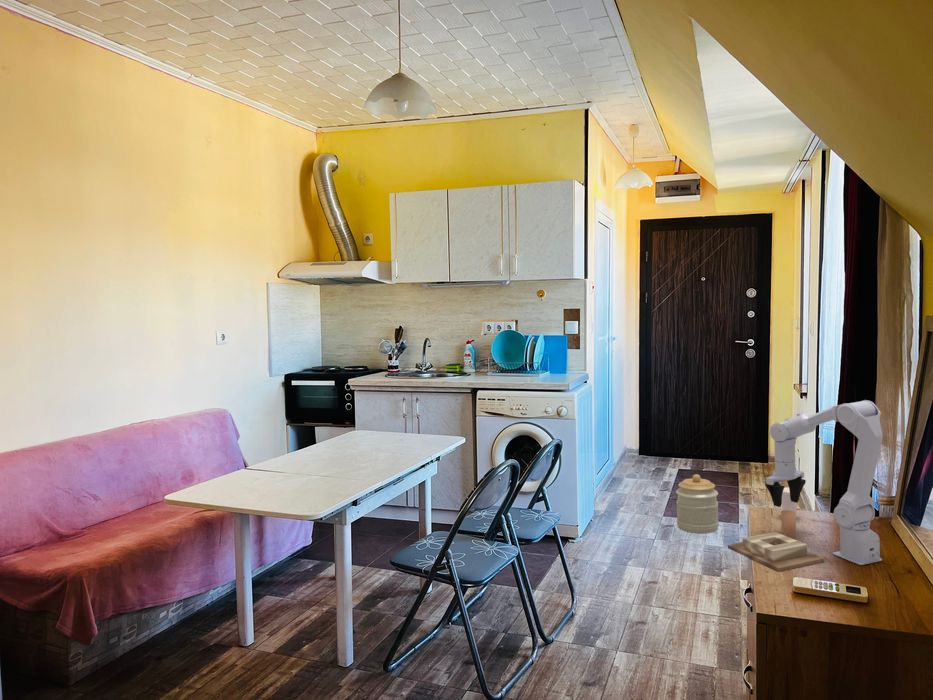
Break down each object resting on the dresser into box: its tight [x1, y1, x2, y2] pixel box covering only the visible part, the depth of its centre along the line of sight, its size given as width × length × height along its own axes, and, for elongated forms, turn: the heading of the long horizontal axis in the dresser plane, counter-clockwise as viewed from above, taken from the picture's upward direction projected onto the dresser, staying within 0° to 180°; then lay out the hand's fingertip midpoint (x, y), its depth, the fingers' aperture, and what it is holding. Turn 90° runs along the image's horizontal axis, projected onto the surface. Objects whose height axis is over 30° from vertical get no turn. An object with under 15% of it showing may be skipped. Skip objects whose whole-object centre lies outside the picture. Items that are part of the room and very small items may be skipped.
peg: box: [780, 510, 797, 540], centre depth 213 cm, size 4×4×8 cm
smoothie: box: [781, 486, 799, 515], centre depth 231 cm, size 6×6×14 cm
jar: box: [675, 473, 720, 534], centre depth 226 cm, size 13×13×18 cm
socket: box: [727, 531, 825, 572], centre depth 200 cm, size 20×16×4 cm
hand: (786, 504), depth 215 cm, fingers open, 7 cm apart
